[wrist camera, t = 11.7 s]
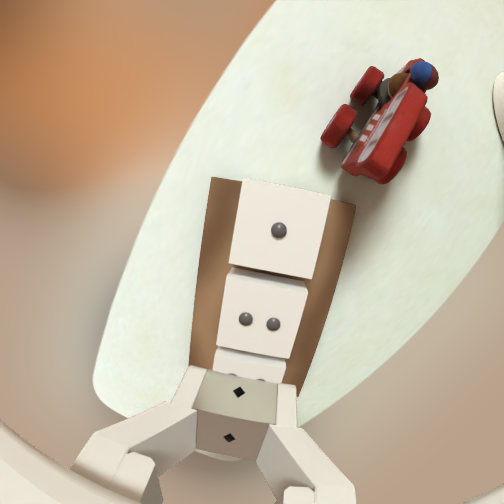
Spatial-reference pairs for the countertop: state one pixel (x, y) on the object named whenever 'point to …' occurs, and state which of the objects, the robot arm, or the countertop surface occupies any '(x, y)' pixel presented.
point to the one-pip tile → (278, 228)
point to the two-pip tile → (261, 312)
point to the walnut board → (218, 267)
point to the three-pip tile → (249, 365)
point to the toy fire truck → (384, 120)
